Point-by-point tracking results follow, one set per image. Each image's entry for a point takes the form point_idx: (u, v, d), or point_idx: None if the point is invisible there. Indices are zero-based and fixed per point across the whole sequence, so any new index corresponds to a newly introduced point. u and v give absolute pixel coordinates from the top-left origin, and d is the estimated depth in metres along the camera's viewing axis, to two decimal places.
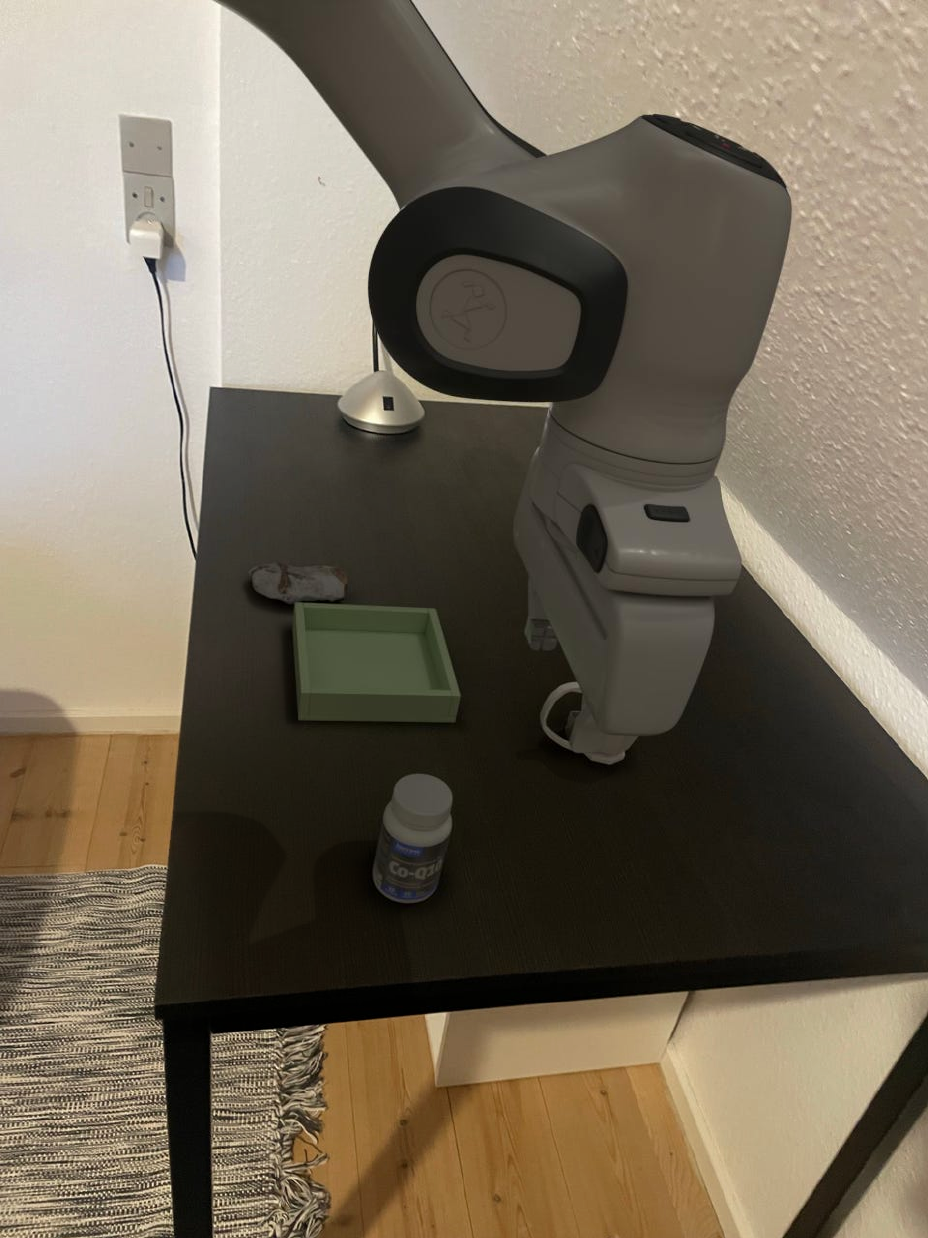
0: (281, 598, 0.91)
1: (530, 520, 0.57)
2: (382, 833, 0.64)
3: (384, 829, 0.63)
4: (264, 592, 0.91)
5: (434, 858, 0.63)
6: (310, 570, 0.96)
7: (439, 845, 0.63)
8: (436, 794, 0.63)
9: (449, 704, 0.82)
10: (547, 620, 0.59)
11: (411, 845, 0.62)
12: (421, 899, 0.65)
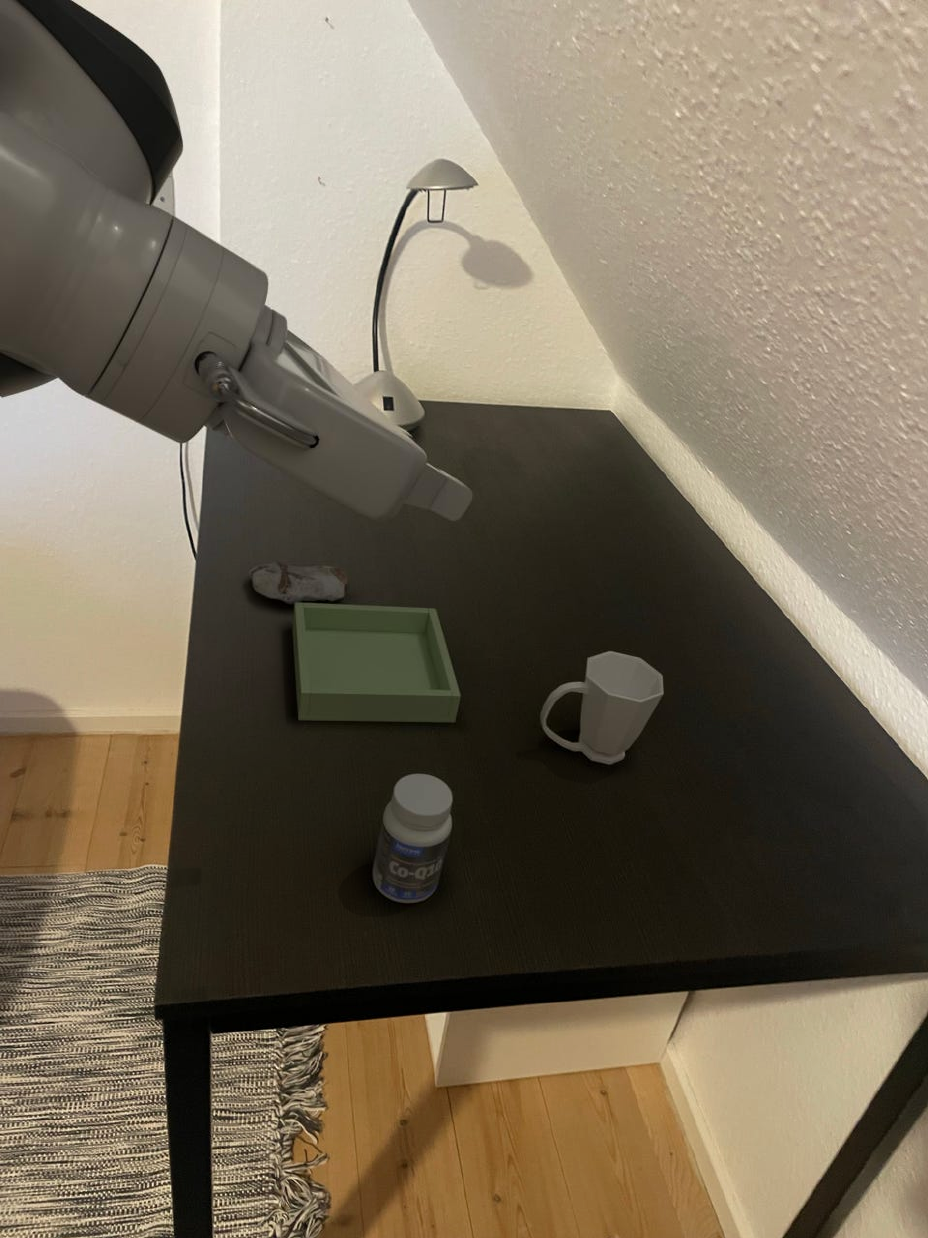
0: (281, 598, 0.91)
1: (357, 405, 0.40)
2: (382, 833, 0.64)
3: (384, 829, 0.63)
4: (264, 592, 0.91)
5: (434, 858, 0.63)
6: (310, 570, 0.96)
7: (439, 845, 0.63)
8: (436, 794, 0.63)
9: (449, 704, 0.82)
10: None
11: (411, 845, 0.62)
12: (421, 899, 0.65)
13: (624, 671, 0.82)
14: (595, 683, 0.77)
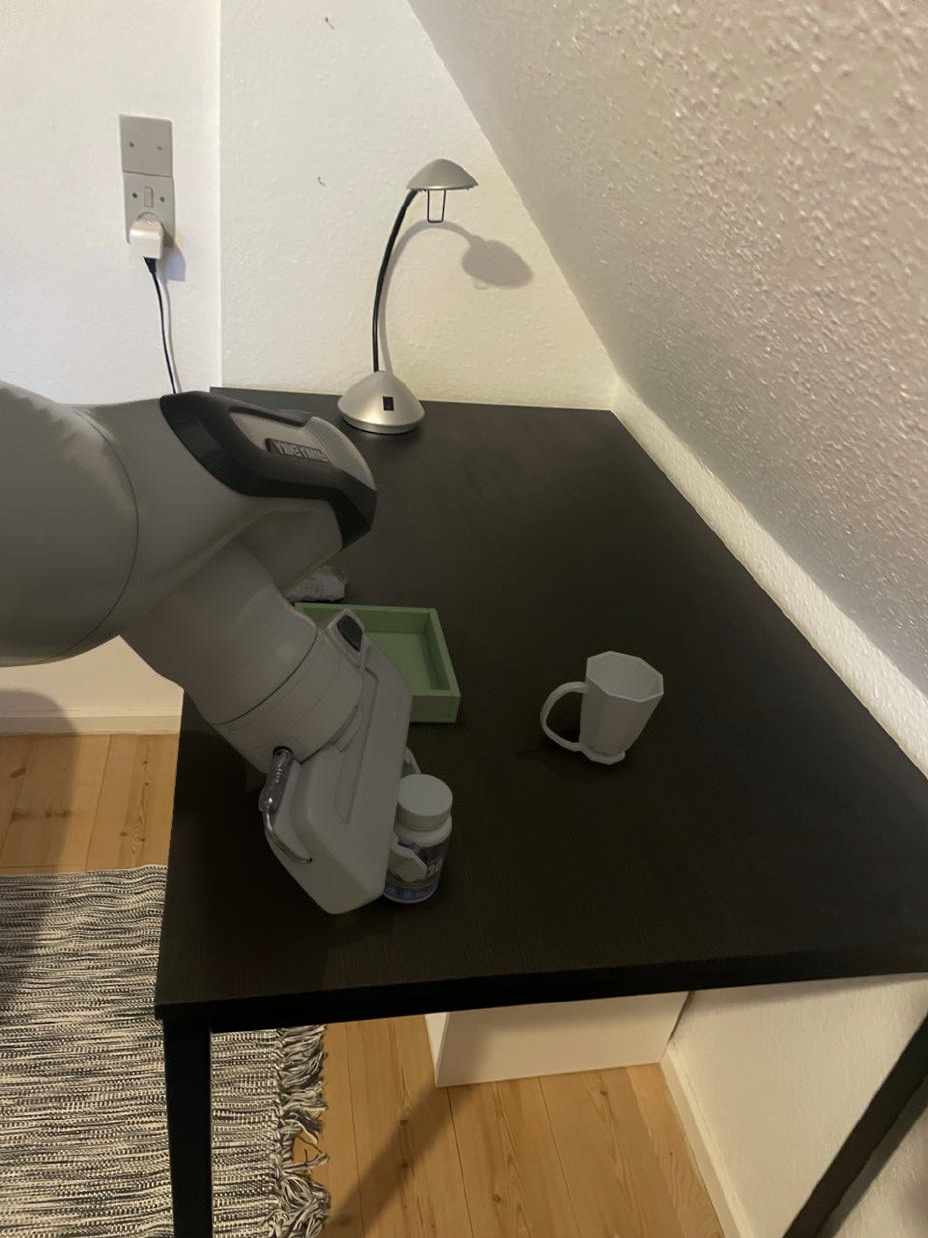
0: None
1: (360, 829, 0.55)
2: None
3: None
4: None
5: (434, 858, 0.63)
6: None
7: (439, 846, 0.63)
8: (436, 794, 0.63)
9: (449, 704, 0.82)
10: None
11: None
12: (421, 900, 0.65)
13: (624, 671, 0.82)
14: (595, 683, 0.77)
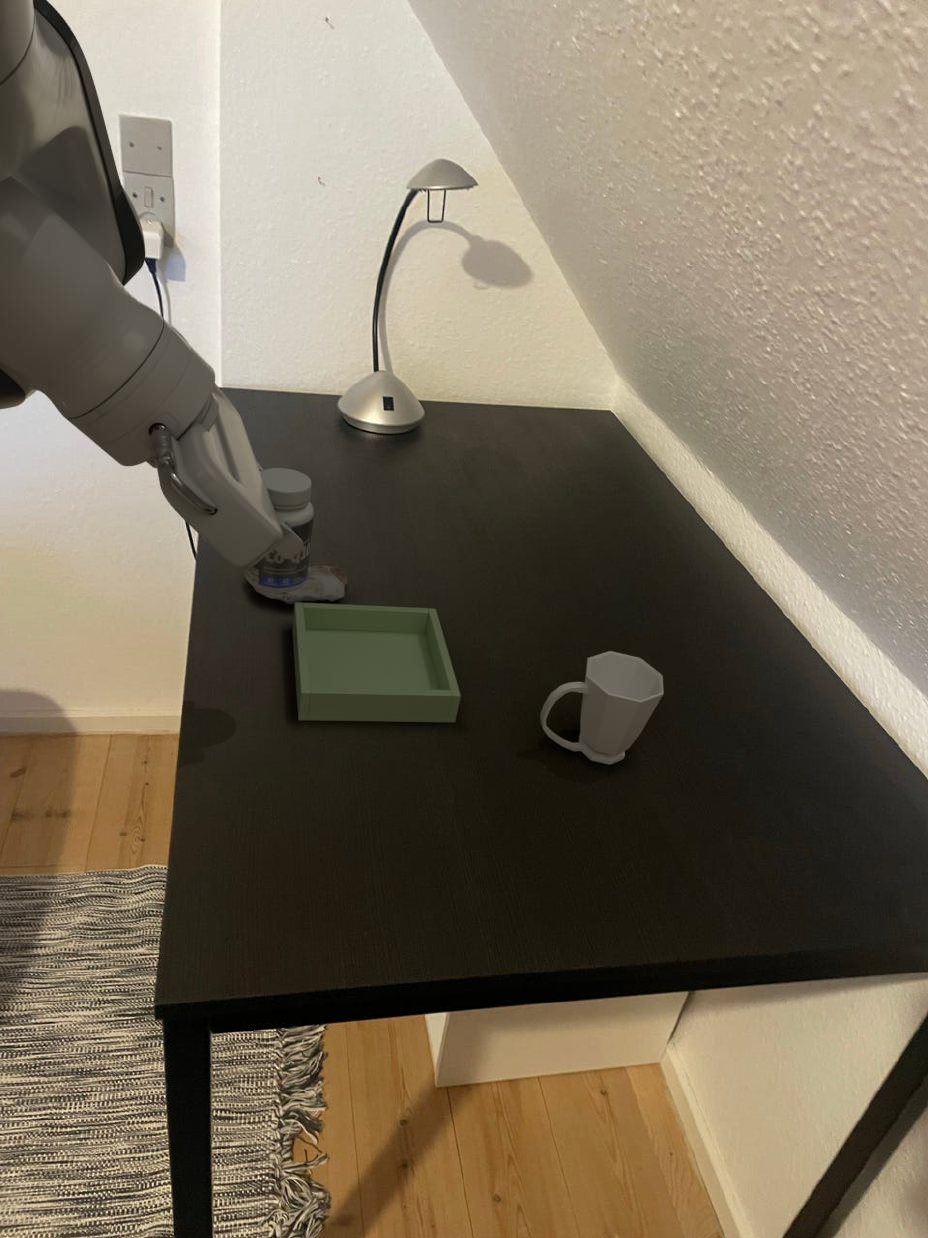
0: (281, 598, 0.91)
1: (248, 488, 0.60)
2: None
3: None
4: (264, 592, 0.91)
5: (305, 538, 0.69)
6: (310, 570, 0.96)
7: (308, 525, 0.69)
8: (295, 478, 0.68)
9: (449, 704, 0.82)
10: None
11: None
12: (298, 586, 0.71)
13: (624, 671, 0.82)
14: (595, 683, 0.77)
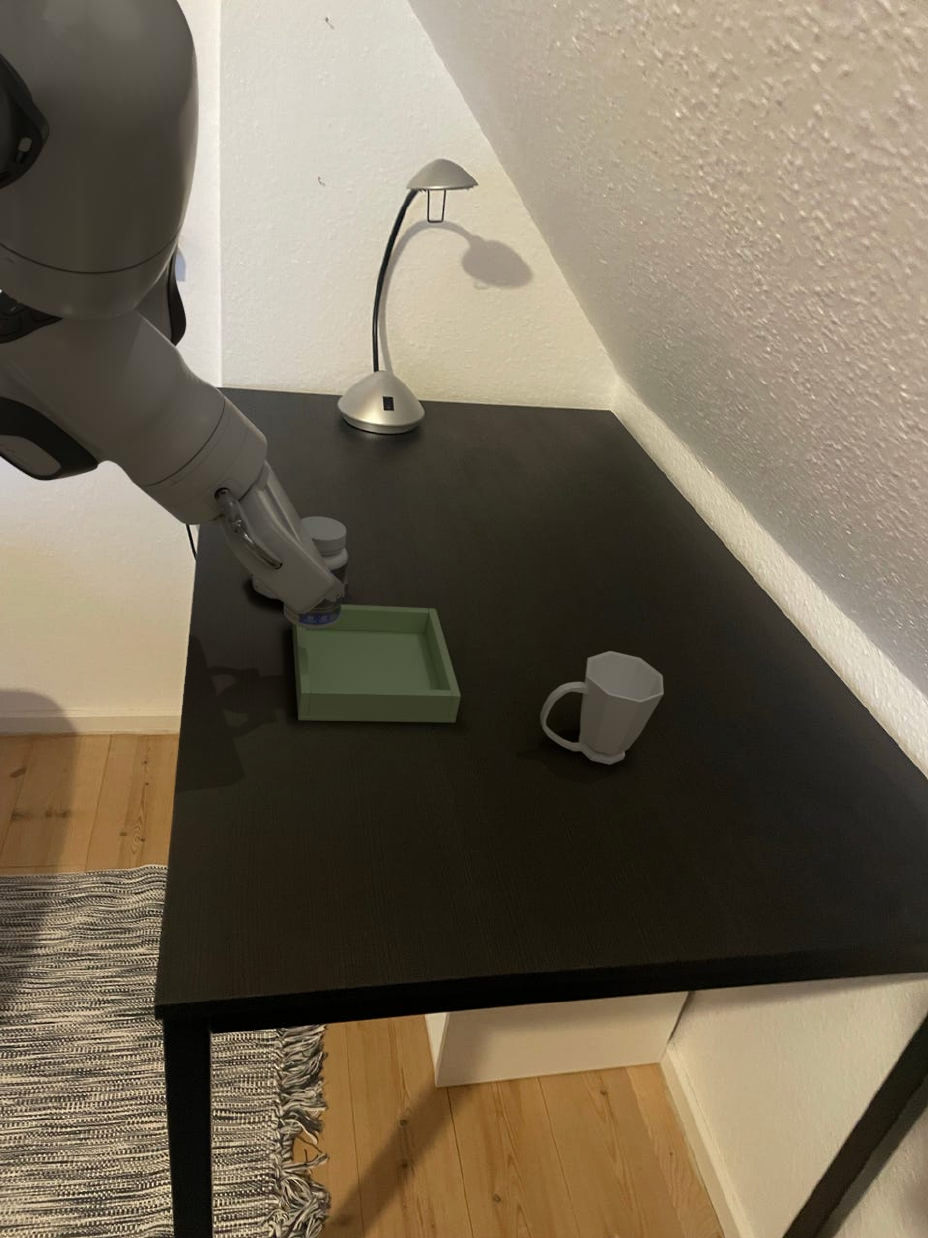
0: None
1: (303, 542, 0.67)
2: None
3: None
4: (264, 592, 0.91)
5: (341, 579, 0.77)
6: None
7: (344, 567, 0.76)
8: (331, 526, 0.76)
9: (449, 704, 0.82)
10: None
11: None
12: (334, 622, 0.78)
13: (624, 671, 0.82)
14: (595, 683, 0.77)
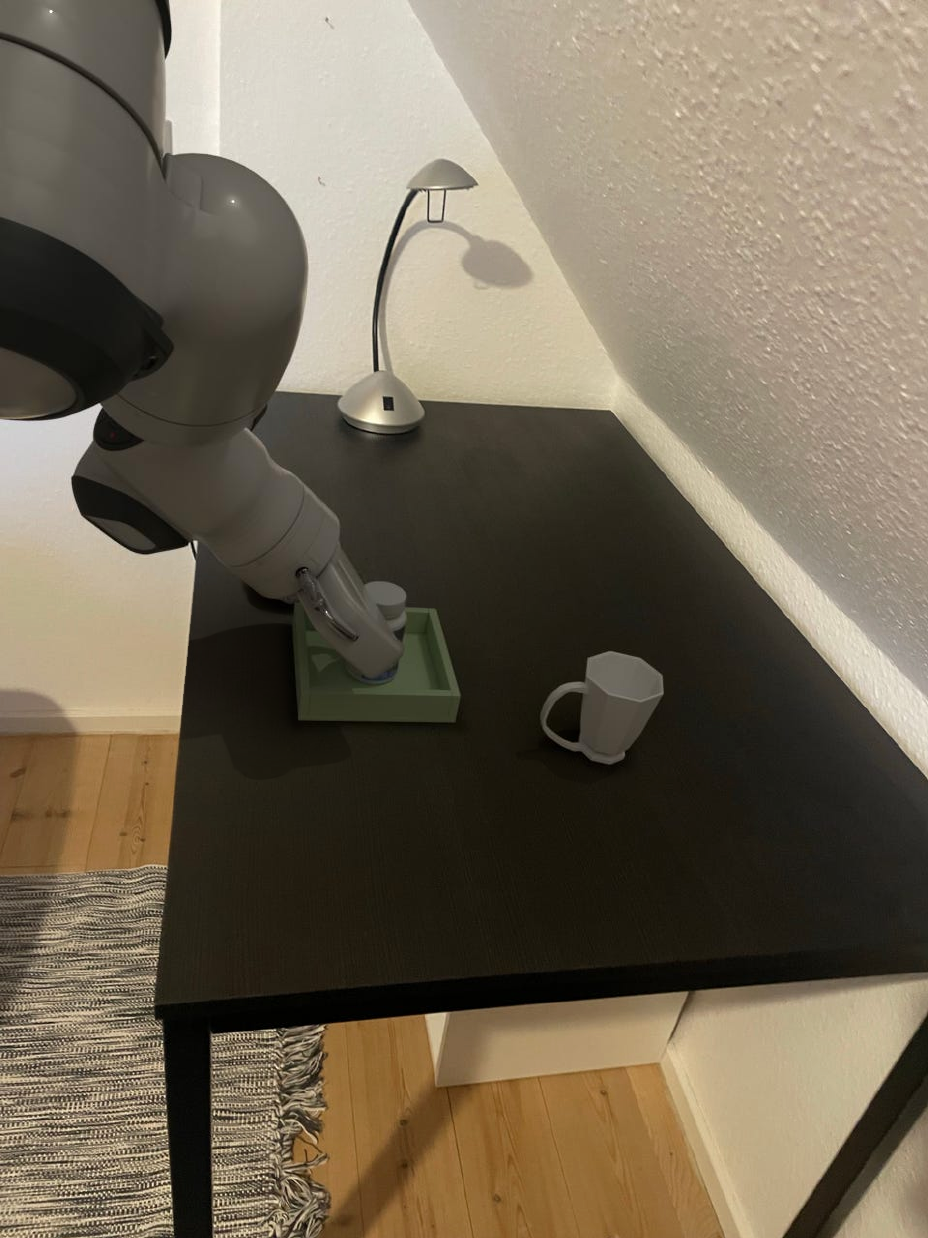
0: (281, 598, 0.91)
1: (373, 613, 0.74)
2: None
3: None
4: None
5: (401, 639, 0.83)
6: None
7: (403, 628, 0.83)
8: (392, 591, 0.82)
9: (449, 704, 0.82)
10: None
11: None
12: (392, 677, 0.85)
13: (624, 671, 0.82)
14: (595, 683, 0.77)
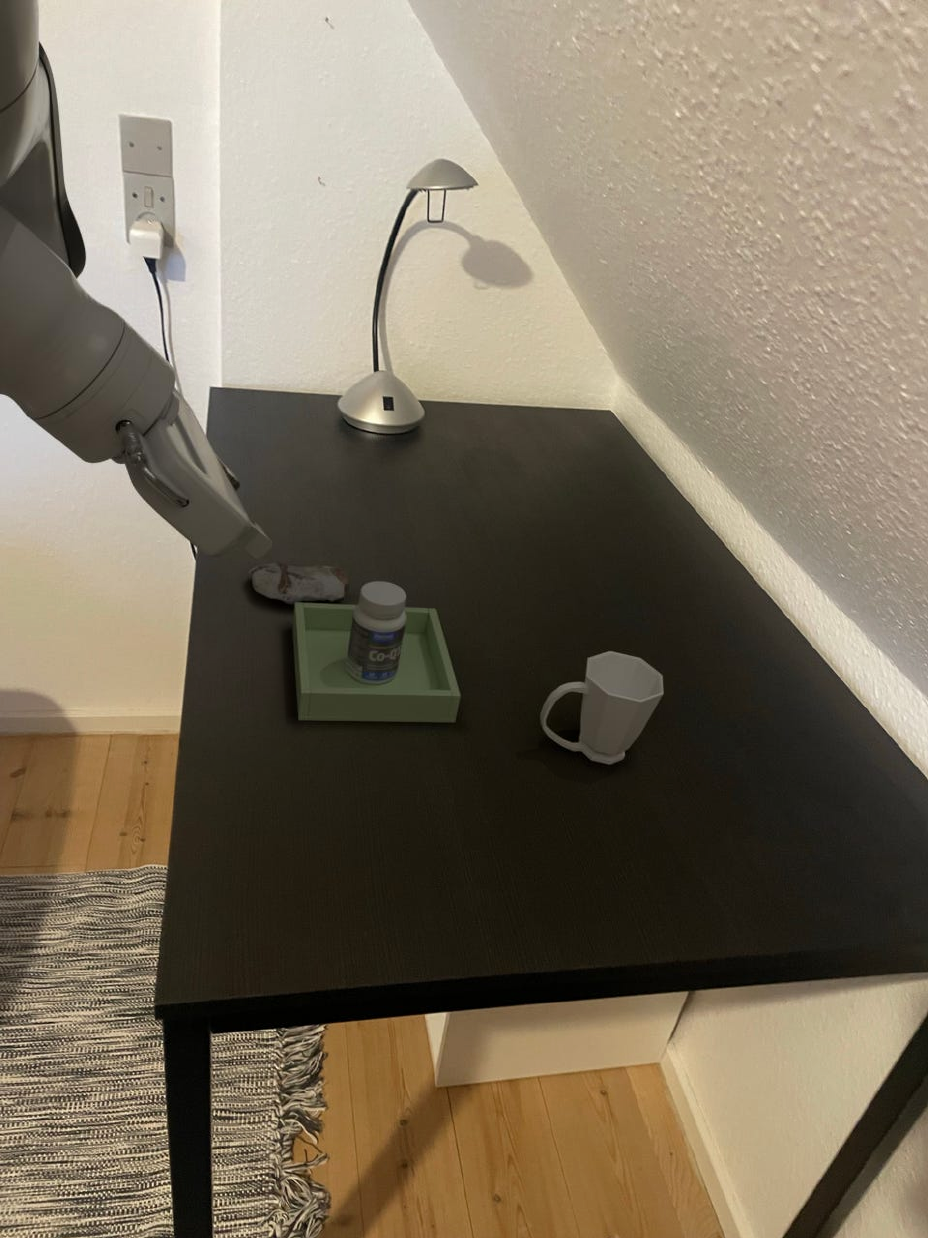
0: (281, 598, 0.91)
1: (215, 480, 0.62)
2: (358, 632, 0.82)
3: (360, 628, 0.81)
4: (264, 592, 0.91)
5: (401, 639, 0.83)
6: (310, 570, 0.96)
7: (403, 628, 0.83)
8: (392, 591, 0.82)
9: (449, 704, 0.82)
10: None
11: (386, 631, 0.81)
12: (392, 677, 0.85)
13: (624, 671, 0.82)
14: (595, 683, 0.77)
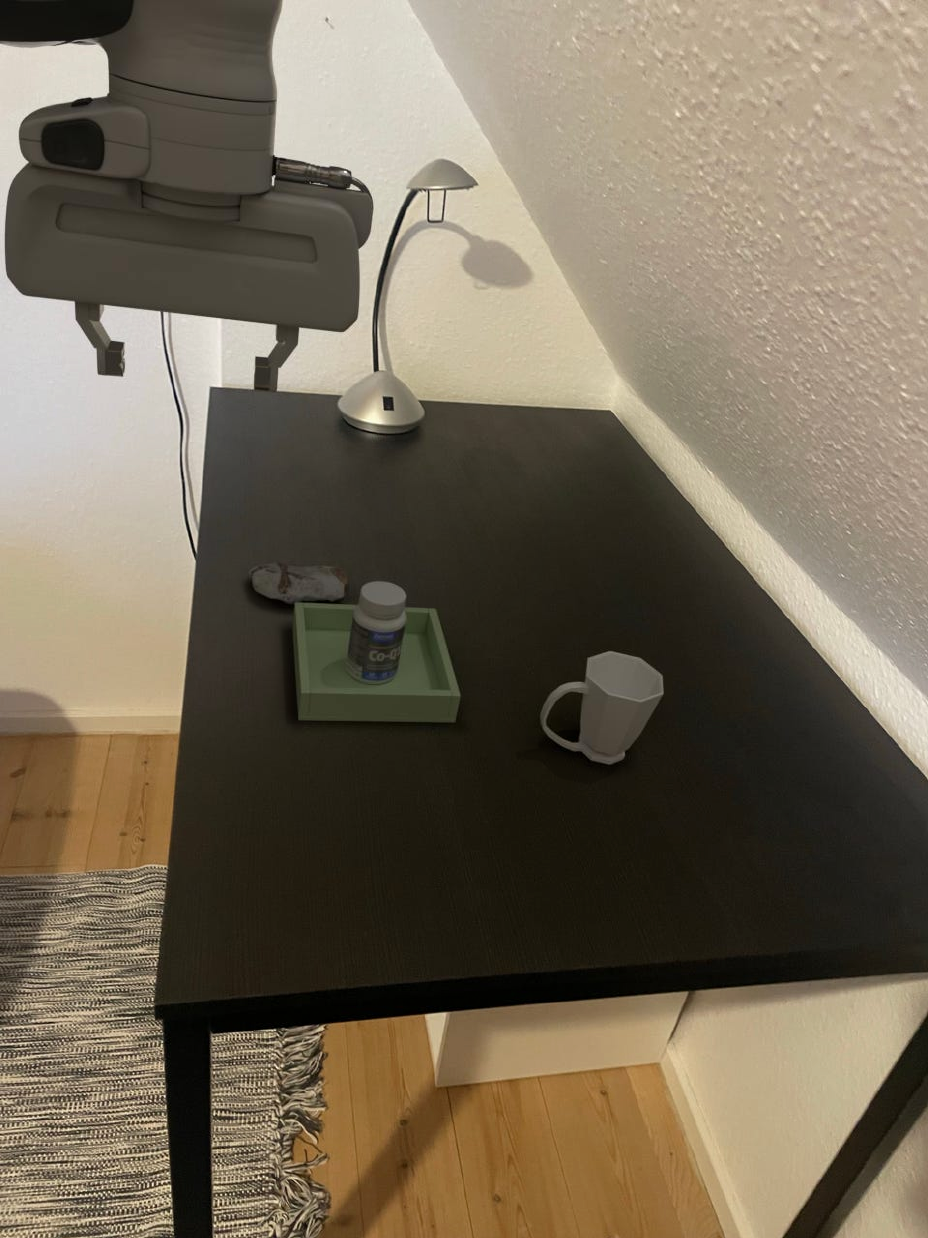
0: (281, 598, 0.91)
1: None
2: (358, 632, 0.82)
3: (360, 628, 0.81)
4: (264, 592, 0.91)
5: (401, 639, 0.83)
6: (310, 570, 0.96)
7: (403, 628, 0.83)
8: (392, 591, 0.82)
9: (449, 704, 0.82)
10: (267, 362, 0.60)
11: (386, 631, 0.81)
12: (392, 677, 0.85)
13: (624, 671, 0.82)
14: (595, 683, 0.77)
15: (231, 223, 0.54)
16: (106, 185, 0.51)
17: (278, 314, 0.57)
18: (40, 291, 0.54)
